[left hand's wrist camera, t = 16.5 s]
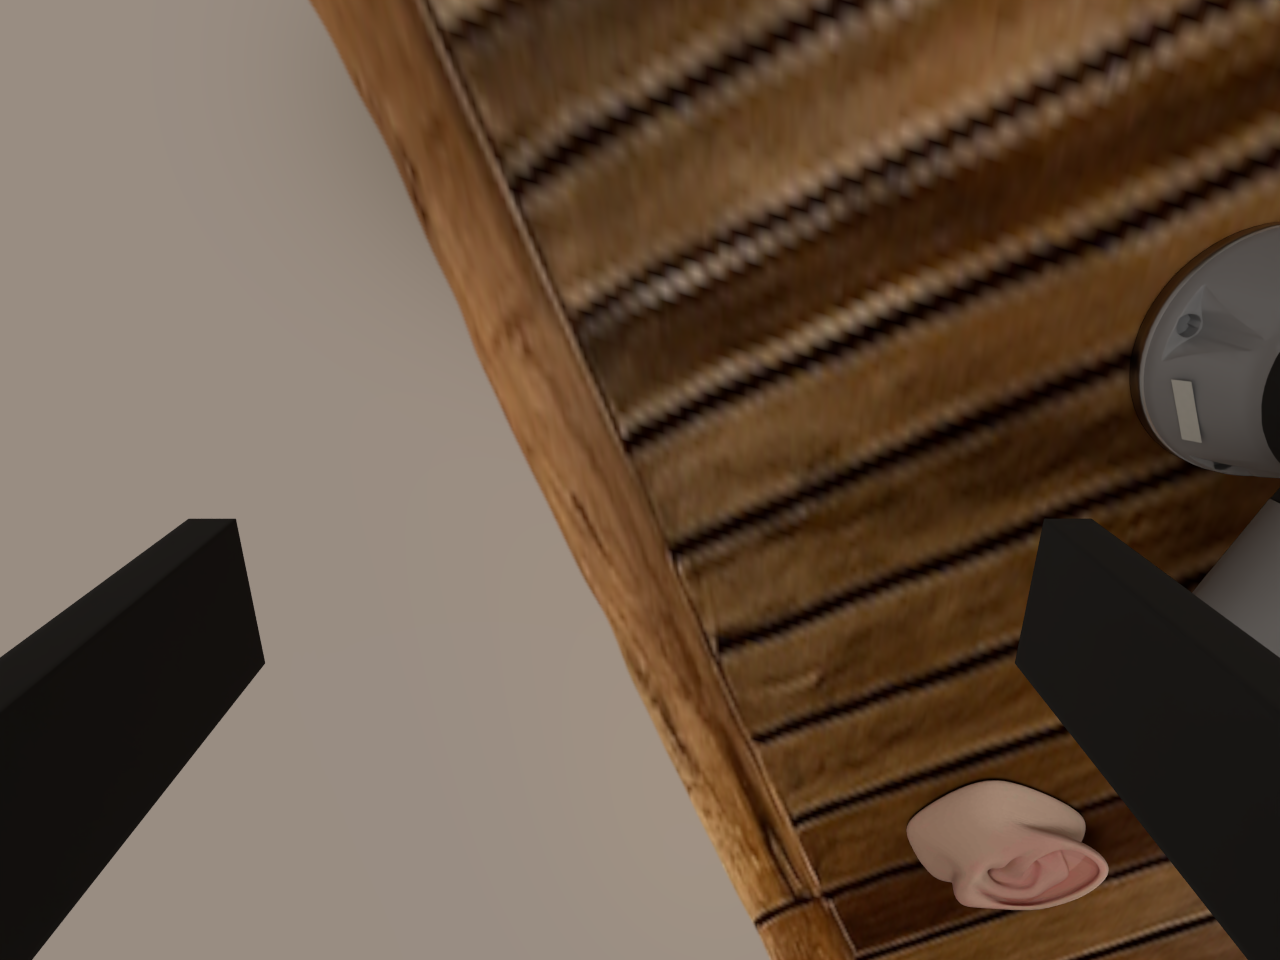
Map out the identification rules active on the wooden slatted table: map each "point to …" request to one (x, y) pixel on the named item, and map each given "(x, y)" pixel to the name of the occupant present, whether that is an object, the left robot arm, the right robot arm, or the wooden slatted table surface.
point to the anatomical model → (1006, 847)
